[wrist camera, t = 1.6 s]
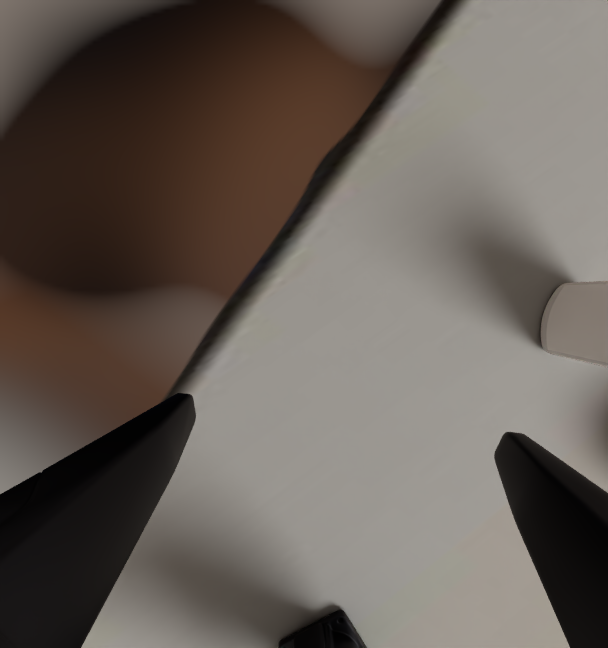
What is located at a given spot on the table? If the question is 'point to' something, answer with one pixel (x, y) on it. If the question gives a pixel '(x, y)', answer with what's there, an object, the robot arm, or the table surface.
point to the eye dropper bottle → (577, 322)
